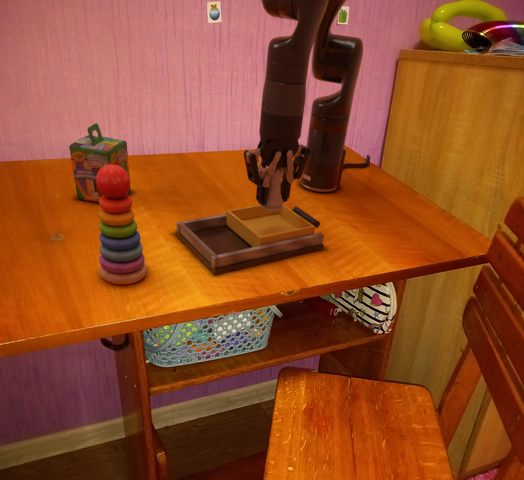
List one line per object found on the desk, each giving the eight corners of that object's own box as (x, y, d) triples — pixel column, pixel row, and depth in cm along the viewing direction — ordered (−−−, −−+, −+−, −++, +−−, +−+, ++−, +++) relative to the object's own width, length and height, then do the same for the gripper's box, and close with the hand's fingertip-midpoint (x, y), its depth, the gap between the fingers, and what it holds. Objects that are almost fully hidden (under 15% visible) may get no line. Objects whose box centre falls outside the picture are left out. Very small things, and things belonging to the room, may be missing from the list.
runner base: (277, 215, 110) (279, 203, 108) (323, 249, 100) (326, 235, 98) (175, 234, 99) (175, 220, 97) (215, 274, 88) (215, 260, 86)
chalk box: (115, 206, 106) (107, 135, 97) (75, 199, 107) (64, 128, 98) (132, 191, 113) (127, 123, 104) (95, 185, 114) (86, 117, 105)
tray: (290, 212, 109) (292, 199, 107) (325, 237, 101) (328, 223, 99) (225, 224, 101) (226, 210, 100) (259, 252, 93) (260, 237, 91)
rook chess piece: (259, 203, 98) (263, 162, 93) (281, 204, 99) (286, 164, 94) (261, 212, 95) (265, 171, 90) (284, 213, 96) (289, 172, 91)
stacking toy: (155, 269, 88) (149, 164, 76) (132, 291, 82) (121, 180, 70) (116, 259, 89) (105, 154, 77) (91, 279, 83) (74, 169, 71)
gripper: (259, 116, 80) (251, 215, 91) (327, 112, 87) (312, 204, 97) (236, 104, 85) (231, 200, 95) (302, 101, 91) (291, 190, 102)
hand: (272, 201), depth 96 cm, fingers closed on rook chess piece, 4 cm apart
